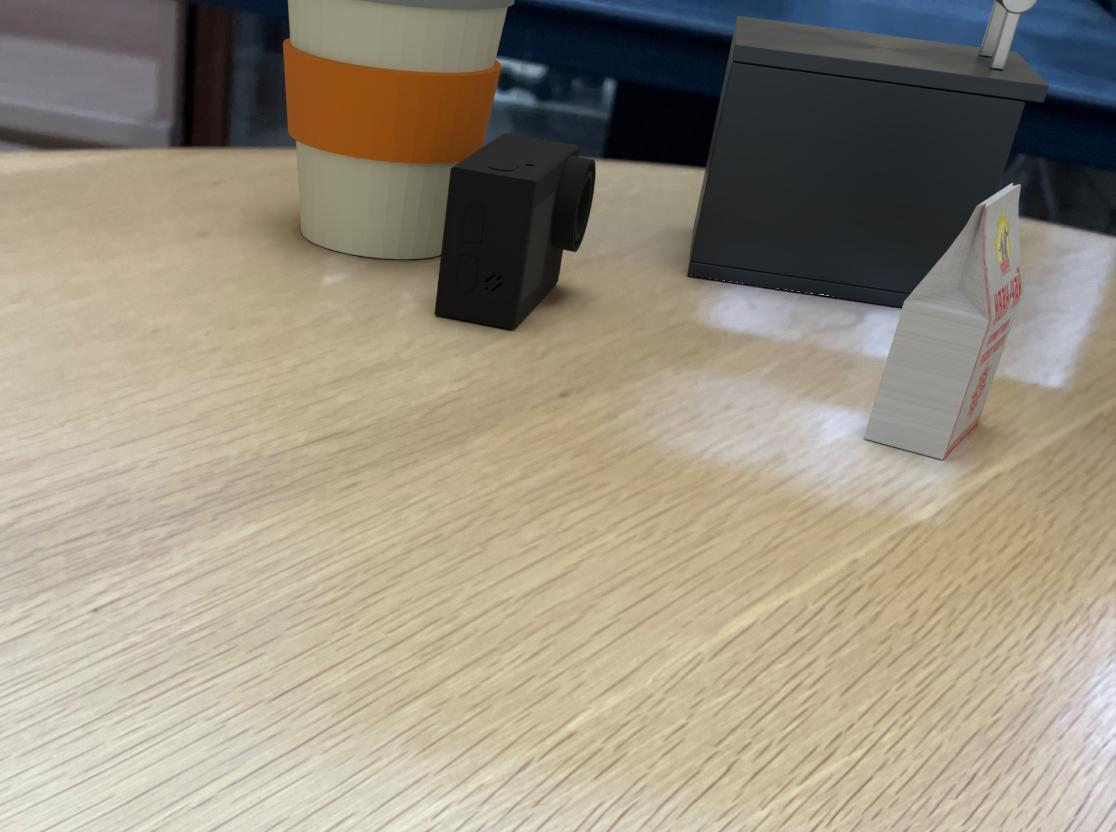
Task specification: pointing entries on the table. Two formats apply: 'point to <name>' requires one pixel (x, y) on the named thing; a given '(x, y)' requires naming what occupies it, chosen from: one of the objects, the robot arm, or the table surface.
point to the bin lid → (898, 55)
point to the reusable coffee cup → (386, 115)
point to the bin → (843, 180)
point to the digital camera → (511, 227)
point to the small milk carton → (952, 335)
